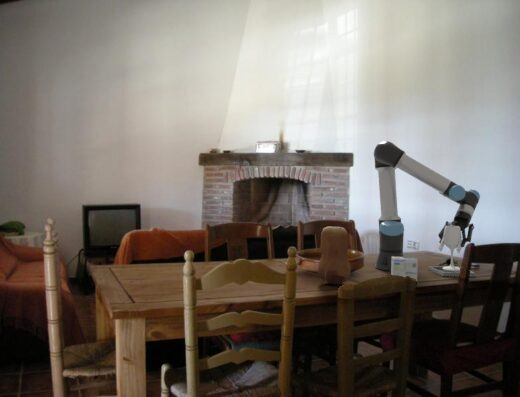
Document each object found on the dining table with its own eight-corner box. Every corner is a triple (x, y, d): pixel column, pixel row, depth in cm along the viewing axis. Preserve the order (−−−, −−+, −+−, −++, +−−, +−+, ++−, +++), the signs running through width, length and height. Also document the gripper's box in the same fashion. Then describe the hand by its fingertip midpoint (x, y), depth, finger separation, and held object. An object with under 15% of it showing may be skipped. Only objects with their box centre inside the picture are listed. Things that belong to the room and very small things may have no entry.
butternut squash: (340, 279, 219) (341, 224, 217) (355, 286, 206) (357, 227, 205) (312, 281, 214) (313, 224, 213) (326, 288, 201) (328, 228, 200)
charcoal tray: (442, 276, 230) (442, 272, 230) (428, 269, 246) (428, 266, 246) (475, 276, 231) (475, 272, 231) (458, 269, 247) (458, 266, 247)
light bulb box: (414, 280, 221) (415, 256, 220) (417, 283, 214) (418, 259, 214) (390, 279, 222) (390, 255, 221) (392, 282, 215) (393, 258, 215)
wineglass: (438, 268, 241) (439, 225, 240) (451, 267, 244) (452, 225, 243) (451, 271, 233) (452, 227, 232) (465, 270, 236) (466, 226, 235)
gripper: (487, 222, 241) (472, 258, 230) (445, 218, 256) (430, 252, 245) (483, 211, 237) (468, 248, 226) (441, 209, 252) (425, 242, 241)
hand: (448, 250), depth 236 cm, fingers closed on wineglass, 8 cm apart
